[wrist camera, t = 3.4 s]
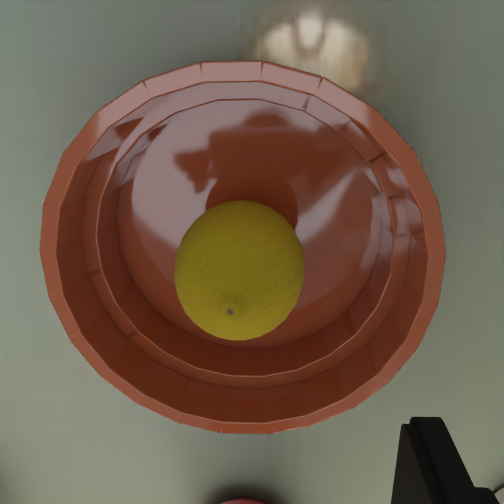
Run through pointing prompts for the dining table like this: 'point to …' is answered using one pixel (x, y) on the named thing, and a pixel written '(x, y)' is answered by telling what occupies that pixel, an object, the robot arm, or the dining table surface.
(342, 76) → the dining table surface
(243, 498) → the liquor
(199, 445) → the dining table surface
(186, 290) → the lemon
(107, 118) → the fruit bowl
